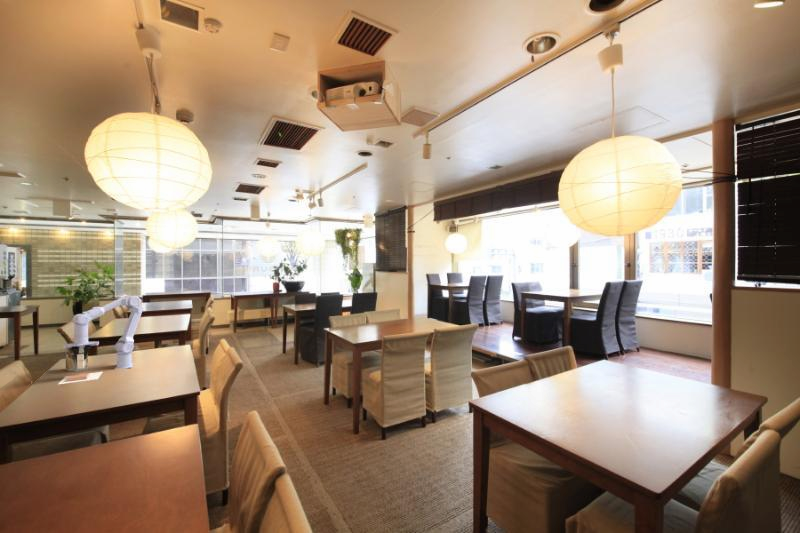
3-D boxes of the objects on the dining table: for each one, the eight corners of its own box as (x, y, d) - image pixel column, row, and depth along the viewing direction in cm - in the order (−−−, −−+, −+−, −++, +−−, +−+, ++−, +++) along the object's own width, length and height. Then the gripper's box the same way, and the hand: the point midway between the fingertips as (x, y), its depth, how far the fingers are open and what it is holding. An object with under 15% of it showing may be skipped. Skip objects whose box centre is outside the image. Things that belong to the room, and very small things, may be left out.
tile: (70, 375, 186) (66, 378, 181) (89, 373, 190) (86, 376, 185) (70, 378, 186) (66, 381, 181) (89, 375, 190) (86, 379, 185)
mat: (65, 377, 189) (65, 376, 189) (103, 372, 197) (103, 371, 197) (57, 385, 177) (57, 384, 177) (97, 379, 186) (97, 379, 186)
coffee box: (88, 369, 203) (88, 342, 202) (76, 372, 197) (76, 345, 196) (77, 367, 205) (77, 341, 205) (64, 370, 199) (64, 344, 198)
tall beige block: (80, 365, 191) (80, 351, 191) (86, 365, 193) (85, 351, 192) (77, 369, 186) (77, 355, 186) (83, 368, 188) (83, 354, 187)
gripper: (61, 338, 181) (61, 363, 182) (96, 335, 189) (96, 359, 189) (65, 335, 187) (65, 359, 188) (99, 332, 195) (99, 356, 195)
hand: (81, 359), depth 189 cm, fingers closed on tall beige block, 2 cm apart
